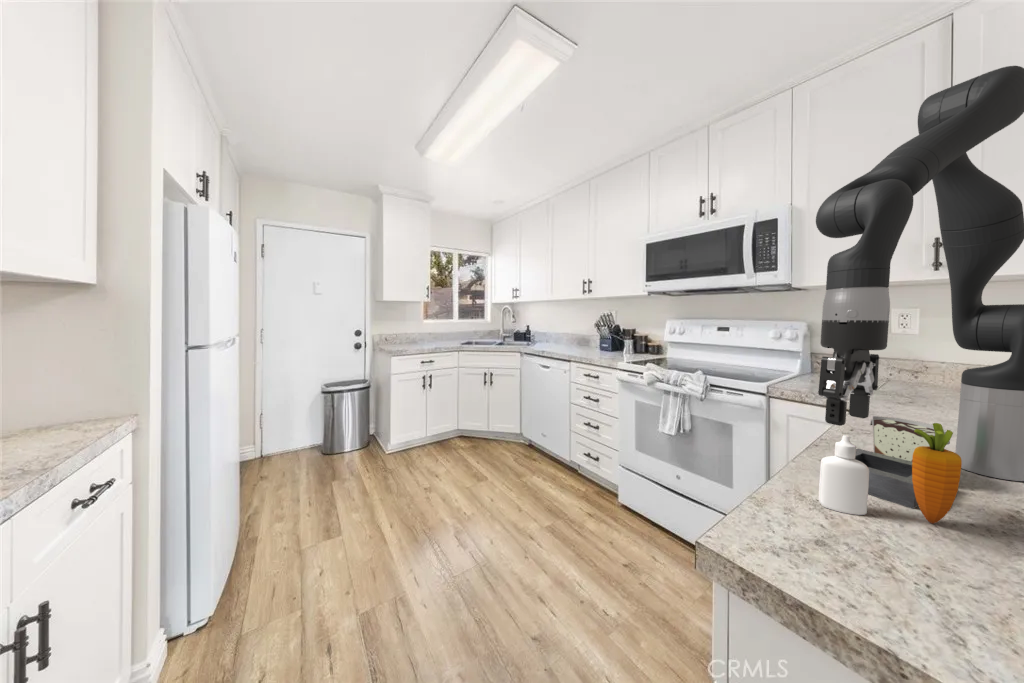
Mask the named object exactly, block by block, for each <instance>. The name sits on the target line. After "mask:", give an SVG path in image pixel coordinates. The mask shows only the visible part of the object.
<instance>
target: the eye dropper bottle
mask: <svg viewBox="0 0 1024 683" xmlns="http://www.w3.org/2000/svg"><path fill="white" fill-rule="evenodd" d="M856 449H857V445H855V444H853V443H852V442H851V440H850V436H849V435H846V434H843V435H842V437H841V440H840V441H835V445H834V455H829V456H828V455H827V456H824V457H822V458H821V460H820V468H819V485H818V502H819V504H820V505H821V506H822V507H823V508H826V509H827V510H828V509H829V510H831V511H835V512H840V513H843V514H849V515H857V516H858V515H859V516H863V515H867V513H868V512H867V511H868V501H869V500H868V498H869V494H868V486H869V468H868V467H867V466H866V465H865V464H864V463H862V462H861V461H858V460H856V459H855V456H856Z"/></svg>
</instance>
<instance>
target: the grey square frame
mask: <svg viewBox="0 0 1024 683" xmlns="http://www.w3.org/2000/svg"><path fill="white" fill-rule="evenodd" d="M855 459H856V460H858V461H861V462H862V463H864V464H865V465H866V466H867V467H868V468H869V486H868V496H872V497H876V498H878V499H882V500H885V501H887V502H892V503H895V504H898V505H900V506H903V507H906V508H910V509H912V510H913V509H915V508H916V507H919V506H918V503H917V501H916V497H915V493H914V488H913V481H912V461H908V460H903V459H899V458H895V457H891V456H887V455H883V454H879V453H875V452H873V451H870V450H866V449H862V448H856V456H855Z"/></svg>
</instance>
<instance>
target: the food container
mask: <svg viewBox="0 0 1024 683" xmlns="http://www.w3.org/2000/svg"><path fill="white" fill-rule="evenodd" d="M871 417H872V418H871V419H870V422H869V425H870V426H872V445H873V448H872V449H873V450H872V452H875V453H879V454H883V455H887V456H891V457H895V458H899V459H903V460H908V461H912V459H913V452H914V450H915V448H917V447H920V446H929V444H928V442H927V441H926V440H925V439H924V438H923V437H922V436H921V435H919V434H917V433H915V432H914V430H915V429H919V430H922V431H923V432H925V433H927V434H928V436H929V435H933V436H935V431H934V428H933V424H931V423H926V422H922V421H917V420H912V419H907V418H899V417H893V416H891V417H890V416H889V417H888V416H882V415H881V416H880V415H878V416H877V415H875V416H874V415H872V416H871ZM943 430H944V435H945V433H946V431H947V429H945V428H943ZM950 444H951V440H950V441H949V442H948V443H947V445H950ZM947 445H946V446H947Z"/></svg>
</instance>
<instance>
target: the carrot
mask: <svg viewBox="0 0 1024 683" xmlns="http://www.w3.org/2000/svg"><path fill="white" fill-rule="evenodd" d="M932 425H933V428H934V431H935V436H933V435H929V436H928V434H927V433H925V432H923V431H922V430H919V429H915V430H914V432H915V433H917V434H919V435H921V436H922V437H923V438H924V439H925V440H926V441H927V442H928V444H929V446H920V447H917V448H915V450H914V452H913V459H912V481H913V488H914V493H915V497H916V501H917V503H918V506H917V507H919V510H920V512H921V513H922V516H923V517H924V518H925V520H926V521H927V522H929V524H932V525H933V524H936V523H937V524H938V523H939V522H940V521H942V519H944V517H945V516H946V515H947V514H948V513H949V511H950V510H951V508H952V506H953V504H954V502H955V500H956V497H957V494H958V491H959V485H960V481H961V480H960V479H961V475H962V474H961V472H962V468H961V466H962V460H961V457H960V456H959V455H958V454H956V453H955V451H952V450H948V449H947V448H946V449H945V447H946V446H947V443H948V442H949V441H950V442H951V438H952V437H953V434H954V431H952V430H950V429H946V433H945V435H944V430H943V429H944V427H943V425H942V424H941V423H938V422H934V423H933V422H932Z"/></svg>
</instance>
